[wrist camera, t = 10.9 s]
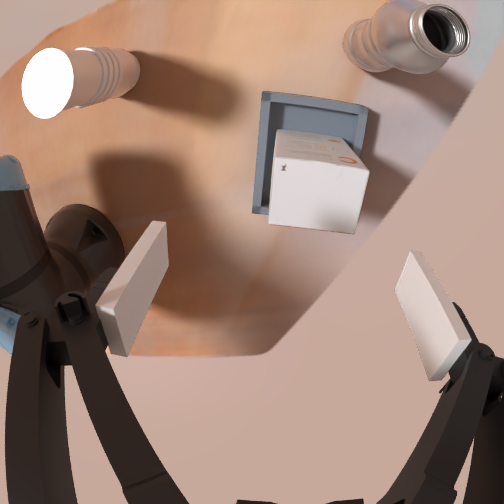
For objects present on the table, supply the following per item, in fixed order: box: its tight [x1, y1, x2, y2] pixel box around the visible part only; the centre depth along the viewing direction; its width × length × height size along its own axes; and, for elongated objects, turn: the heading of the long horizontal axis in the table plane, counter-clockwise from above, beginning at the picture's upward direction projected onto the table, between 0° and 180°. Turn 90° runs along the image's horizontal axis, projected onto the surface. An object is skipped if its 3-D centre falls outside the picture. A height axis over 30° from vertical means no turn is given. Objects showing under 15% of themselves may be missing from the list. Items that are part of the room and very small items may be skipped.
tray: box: [252, 91, 369, 215], centre depth 36 cm, size 12×15×2 cm
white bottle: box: [22, 47, 140, 118], centre depth 26 cm, size 7×7×15 cm
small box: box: [269, 129, 370, 234], centre depth 31 cm, size 8×6×13 cm
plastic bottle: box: [343, 0, 470, 74], centre depth 20 cm, size 6×7×20 cm
